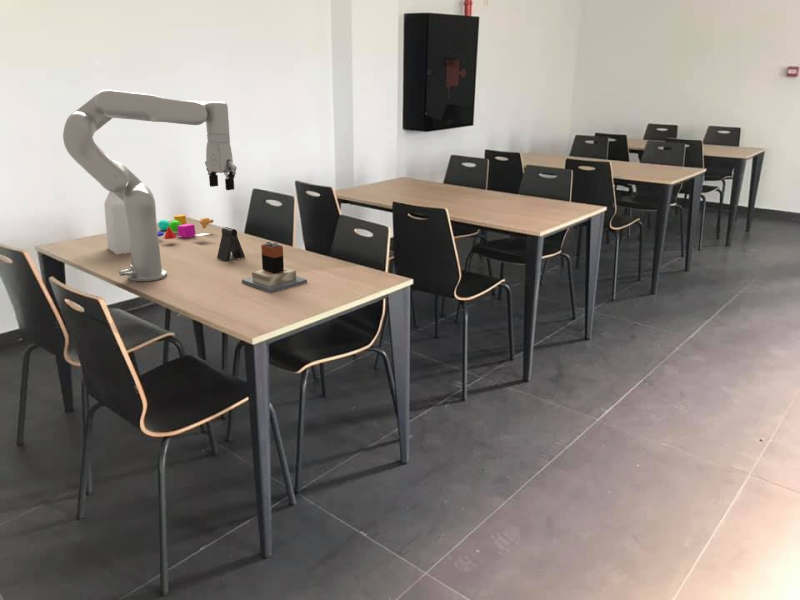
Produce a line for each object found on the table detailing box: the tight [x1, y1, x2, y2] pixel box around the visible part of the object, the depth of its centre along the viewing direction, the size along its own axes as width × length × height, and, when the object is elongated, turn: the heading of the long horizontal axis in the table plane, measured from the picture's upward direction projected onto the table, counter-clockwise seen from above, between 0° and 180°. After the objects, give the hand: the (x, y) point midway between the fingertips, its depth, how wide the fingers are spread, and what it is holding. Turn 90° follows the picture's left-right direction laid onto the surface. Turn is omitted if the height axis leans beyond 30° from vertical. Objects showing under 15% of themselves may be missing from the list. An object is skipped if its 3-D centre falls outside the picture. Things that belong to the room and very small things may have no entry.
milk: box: [103, 191, 131, 255], centre depth 253 cm, size 12×12×26 cm
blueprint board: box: [241, 275, 308, 294], centre depth 221 cm, size 16×16×1 cm
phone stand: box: [216, 226, 246, 262], centre depth 247 cm, size 9×6×12 cm, turn 140°
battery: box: [260, 241, 285, 273], centre depth 218 cm, size 4×7×10 cm, turn 51°
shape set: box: [157, 214, 214, 240], centre depth 279 cm, size 29×35×7 cm
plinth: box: [251, 266, 297, 286], centre depth 220 cm, size 12×9×3 cm
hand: (222, 188), depth 224 cm, fingers open, 9 cm apart
